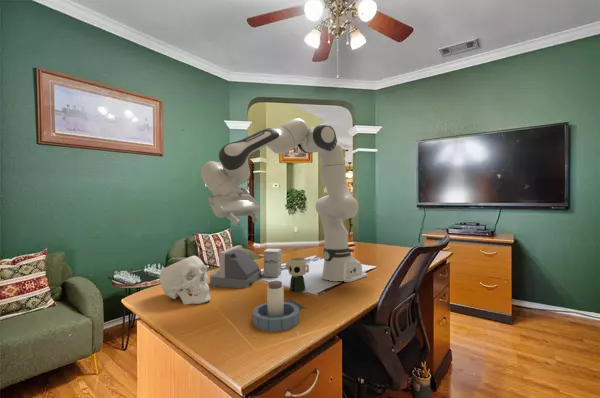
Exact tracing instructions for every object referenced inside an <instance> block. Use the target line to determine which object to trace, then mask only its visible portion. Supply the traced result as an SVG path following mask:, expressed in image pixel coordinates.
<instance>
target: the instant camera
mask: <svg viewBox="0 0 600 398" xmlns="http://www.w3.org/2000/svg"><path fill="white" fill-rule="evenodd" d="M218 256H219V261H218V262H219V269H218V270H216V271H214V272H212V273H211V274H209V284H210V285H209V287H219V288H220V287H221V288H235V289H247V288H249V287H251V286H252V285H253V284H255V282H257V281H258V280H259V279H261V278H262V277H263V273H262V269H260V266H259V264H258V263H257V262H256V261H255V260H254V259H253V258H251V256H249V255H248V254H247V253H246V252H245V251H244V250H243V245H235V246H232V247H230V248H227V249H225V250H222V251H219V253H218Z"/></svg>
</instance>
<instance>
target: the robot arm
mask: <svg viewBox="0 0 600 398" xmlns="http://www.w3.org/2000/svg"><path fill="white" fill-rule="evenodd" d="M265 147H268V148H269V149H270V151H272V152H273V153H275V154H277V155H283V154H286V153H288V152H290V151H291V150H293V149H294V148H295V147H298V149H299V150H300V151H301V152H303V153H305V154H313V153H318V155H319V157H320V170H321V183H322V184H323V186H324V187H325V188H326V190H327V193H328V194H327V195H325V196H322V197H320V198H318V199H317V201H316V203H315V210H316V213H317V214H318V215H319V217H320V220H321V221H320V222H321V223H322V228H323V237H324V238H323V239H324V247H323V260H324V261H323V267H322V272H321V279H323V280H325V281H328V280H329V281H330V282H337V281H344V282H343V283H352V282H354V281H357V280H360V279H363V278H365V277H368V274H367V272H365V271H363V268H362V267H363V265H362V264H361V261H359V260H357V259H356V258H355V257H354V256H353V255H352V253H355V251H356V249H355V248H353V247H349V232H348V229H347V228H346V227H345V225H344V223H343V220H347V219H352V218H354V217H355V216H356V215H357V213H358V211H359V203H358V201H357V199H356V198H355V197H354V196H353V195H352V193H351V192H350V189H349V186H348V183H347V176H346V166H345V157H344V151H343V148H342V145H341V144H340V143H339V142H338V138H337V135H336V131H335V129H334V127H333V126H332V125H330V124H328V123H321V124H317V125H315V126H312V127H309V126H308V125H307V123H306V121H305V120H304V119H302V118H297V117H296V118H293V119H290V120H287V121H286V122H284V123H282V124H281V125H278V126H277V127H275V128H274V127H273V128H272V127H268V128H264V129H262V130H260V131H257V132H255V133H252V134H251V135H249V136H247V137H245V138H242V139H239V140H236V141H232V142H229V143H227V144H225V145H223V146H222V147H221V148H220V150H219V153H218V159H219V161H215V160H210V161H207V162H205V163H204V165H203V166H202V167H201V170H200V176H201V179H202V181H203V182H204V184H205V186H206V187H207V188H208V190H209V191H210V192H211V193H212V194H210V195H209V196H207V201H208V203H209V204H210V208H211V210H212V212H213V214H214V216H215V217H217V218H219V219H221V218H222V219H223V218H227V219H228V220H229V221H231V222H232V223H233V224H234V225H235V226H239V225H240V224H241V223H242V221H241V220H240V218H239V217H245V216H247V217H248V216H250V217H251V218H252V219H251V221H252V222H253V224H257V223H259V221H260V219H259V217H258V215H257V214H258V213H259V212H260V211H261V206H260V204H259V203H258V201H256V200H255V198H254V196H252V195H251V194H250V191H249V190H248V189H246V188H243V187H241V186H240V185H243V184H245V183H247V181H248V180H249V179H250V177H251V170H250V165H249V161H248V159H249V157H250V155H251V154H253V153H254V152H256V151H259V150H261V149H263V148H265ZM237 217H238V218H237Z"/></svg>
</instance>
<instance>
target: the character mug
mask: <svg viewBox="0 0 600 398" xmlns="http://www.w3.org/2000/svg"><path fill="white" fill-rule="evenodd" d="M285 269H286V270H287V271H288V273H289V275H290V276H291V277H290V283H289V290H290V291H291V292H292V291H294V292H302V291H304V290H305V289H306V283H305V278H304V275H306V273H307V274H308V273H309V272H310V265H309V264H307V258H305V257H304V256H303V257H302V256H294V257H289V258H288V261H286V262H285Z"/></svg>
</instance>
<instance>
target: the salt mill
mask: <svg viewBox="0 0 600 398" xmlns="http://www.w3.org/2000/svg"><path fill="white" fill-rule="evenodd" d="M284 295H285V294H284V285H283V283H282V281H280V280H271V281H269V282H268V285H267V287H266V299H267V300H266V303H267V309H268V317H270V318H274V317H284V301H285V300H284V298H285V296H284Z"/></svg>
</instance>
